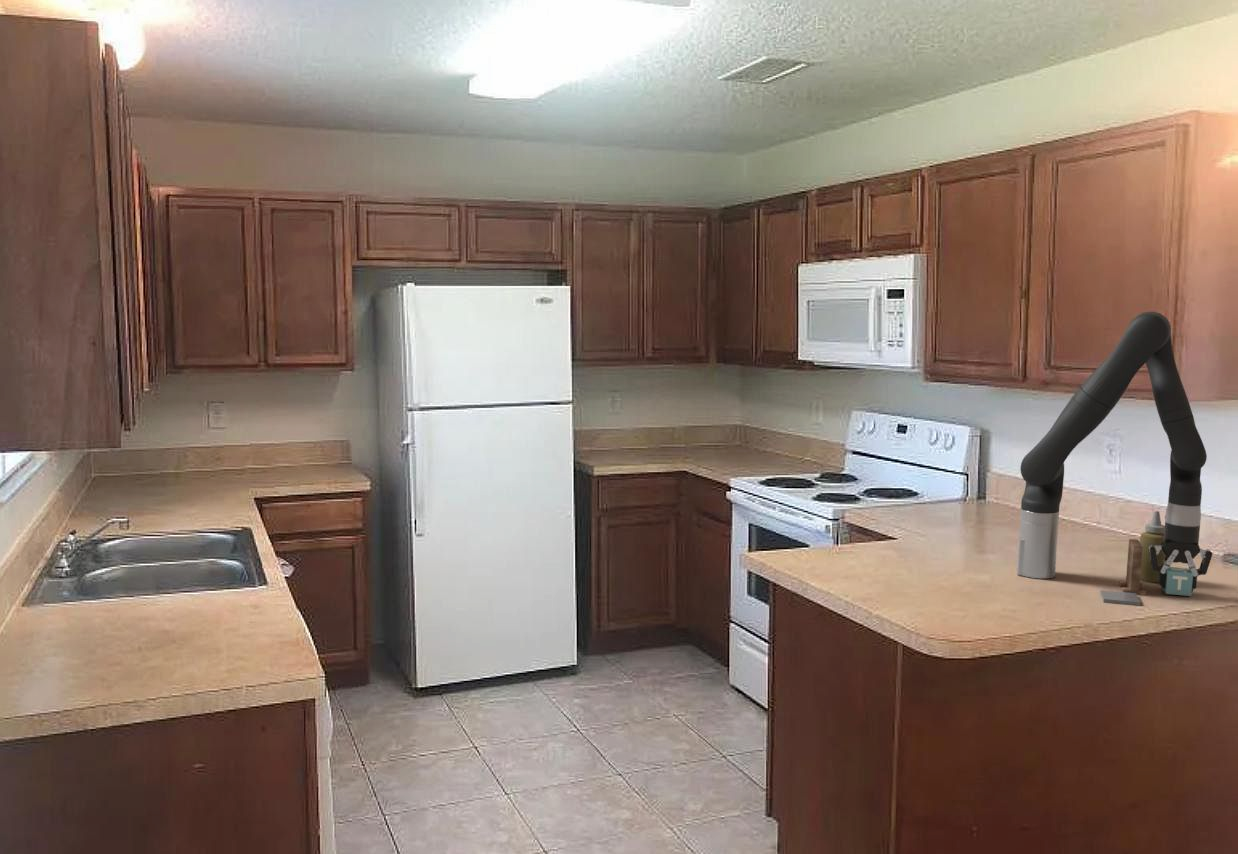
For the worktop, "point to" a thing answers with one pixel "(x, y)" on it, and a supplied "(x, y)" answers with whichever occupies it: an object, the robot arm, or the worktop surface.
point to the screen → (1133, 569)
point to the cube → (1178, 581)
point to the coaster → (1120, 597)
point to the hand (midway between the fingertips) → (1176, 588)
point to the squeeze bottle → (1153, 537)
